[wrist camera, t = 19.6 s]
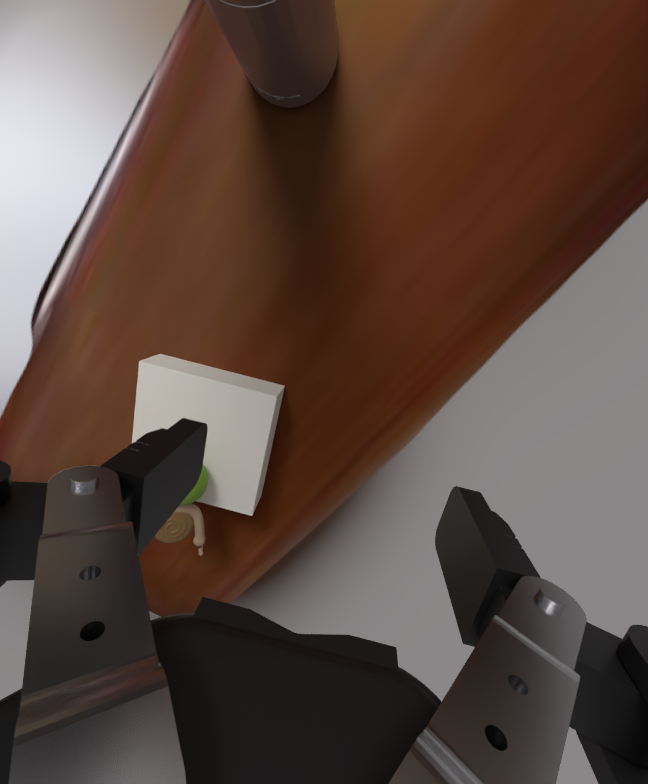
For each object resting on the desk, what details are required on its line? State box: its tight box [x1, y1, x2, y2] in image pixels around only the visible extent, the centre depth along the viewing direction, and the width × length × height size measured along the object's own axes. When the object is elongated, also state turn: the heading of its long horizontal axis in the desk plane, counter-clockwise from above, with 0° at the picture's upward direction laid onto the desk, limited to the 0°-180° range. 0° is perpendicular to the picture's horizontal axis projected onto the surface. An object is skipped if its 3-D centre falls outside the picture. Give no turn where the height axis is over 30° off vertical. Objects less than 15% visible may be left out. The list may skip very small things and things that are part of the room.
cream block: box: [132, 354, 285, 516], centre depth 47 cm, size 16×16×5 cm
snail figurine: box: [155, 465, 208, 556], centre depth 44 cm, size 5×6×12 cm
